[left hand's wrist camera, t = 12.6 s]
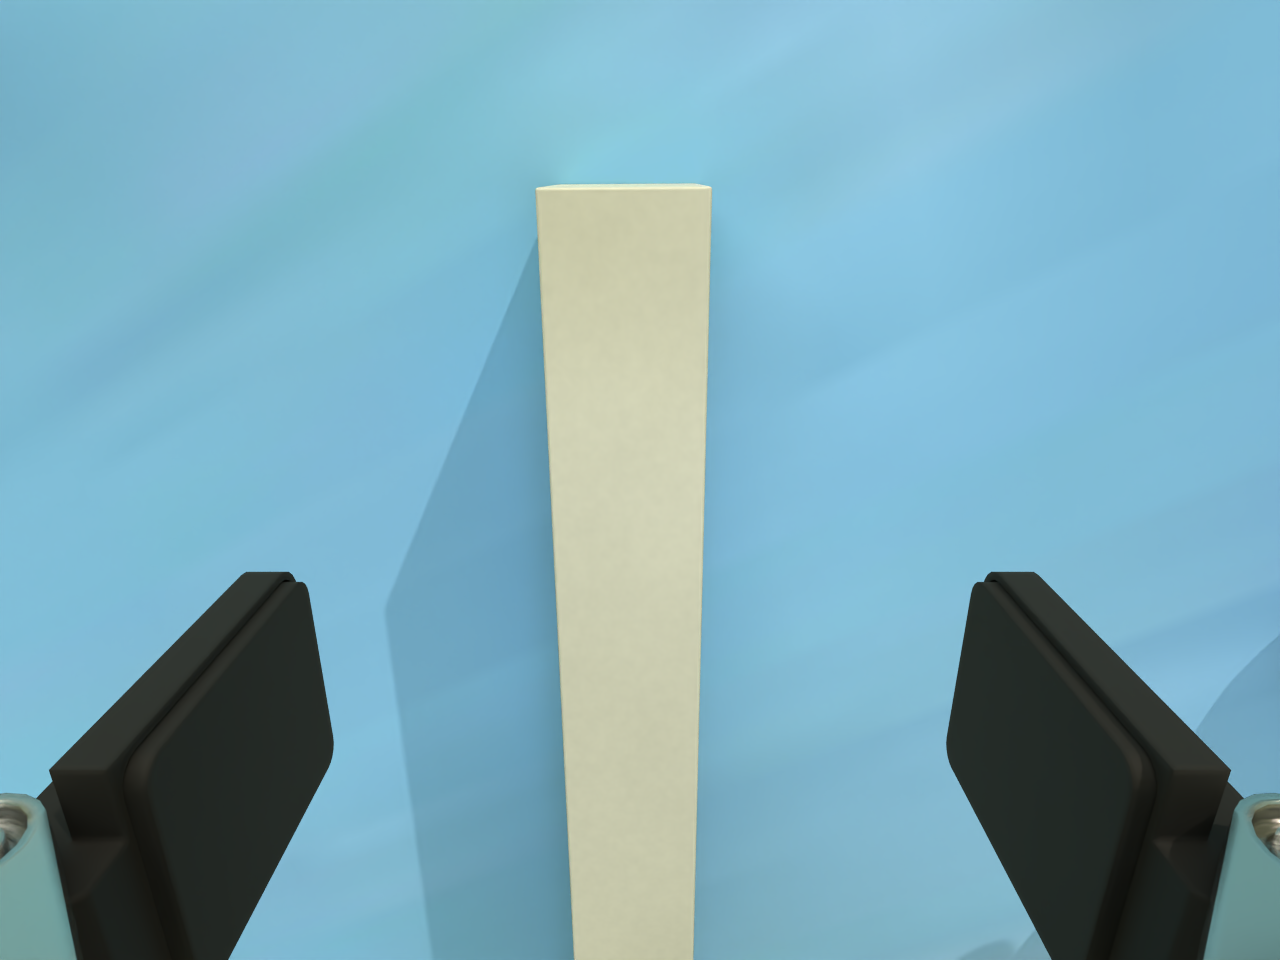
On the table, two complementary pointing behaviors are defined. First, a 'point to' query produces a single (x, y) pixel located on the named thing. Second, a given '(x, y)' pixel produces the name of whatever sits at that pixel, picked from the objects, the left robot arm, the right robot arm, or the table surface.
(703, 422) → the block
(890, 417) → the table surface
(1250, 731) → the table surface
